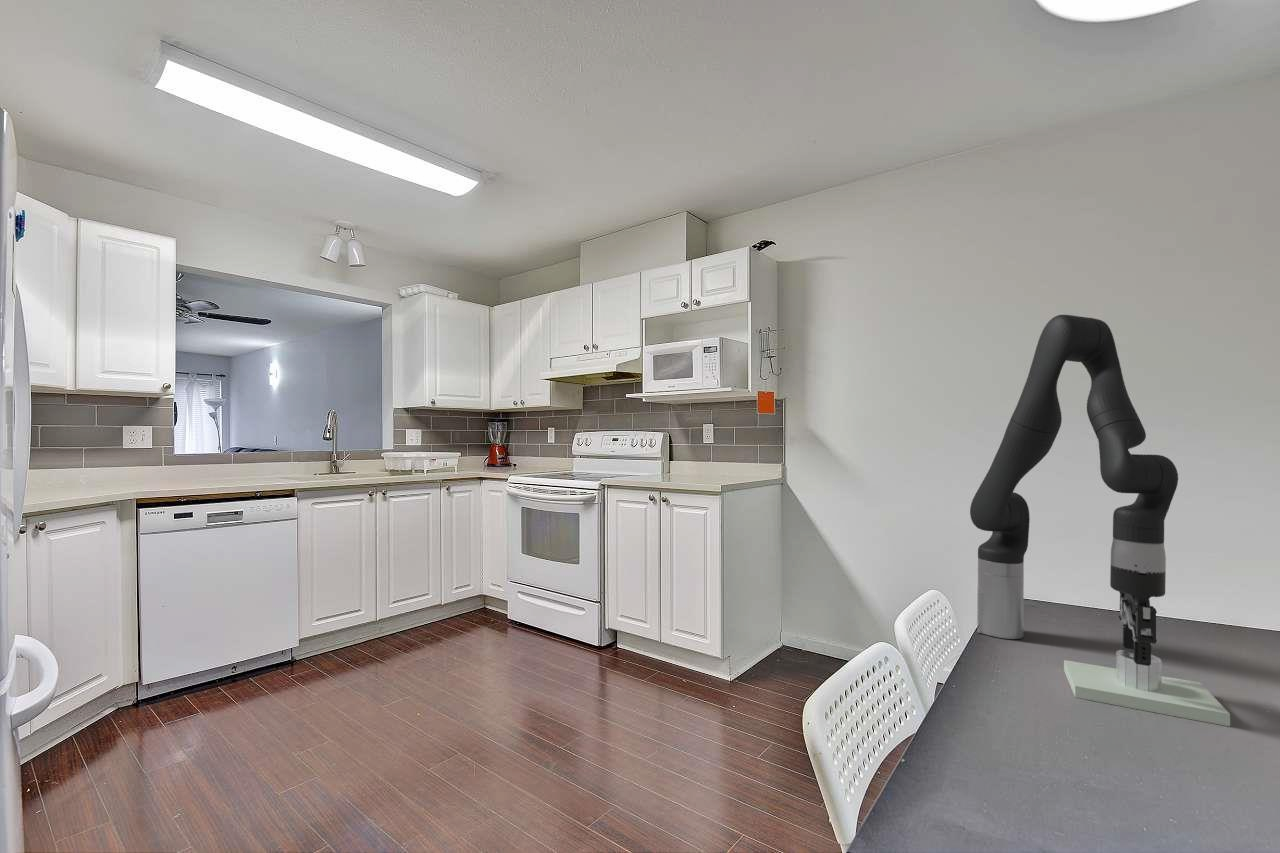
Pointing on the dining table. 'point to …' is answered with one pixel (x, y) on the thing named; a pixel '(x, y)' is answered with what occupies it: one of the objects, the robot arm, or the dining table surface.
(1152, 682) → the cylinder
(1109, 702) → the post base
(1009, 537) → the robot arm
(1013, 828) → the dining table surface
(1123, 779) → the dining table surface
